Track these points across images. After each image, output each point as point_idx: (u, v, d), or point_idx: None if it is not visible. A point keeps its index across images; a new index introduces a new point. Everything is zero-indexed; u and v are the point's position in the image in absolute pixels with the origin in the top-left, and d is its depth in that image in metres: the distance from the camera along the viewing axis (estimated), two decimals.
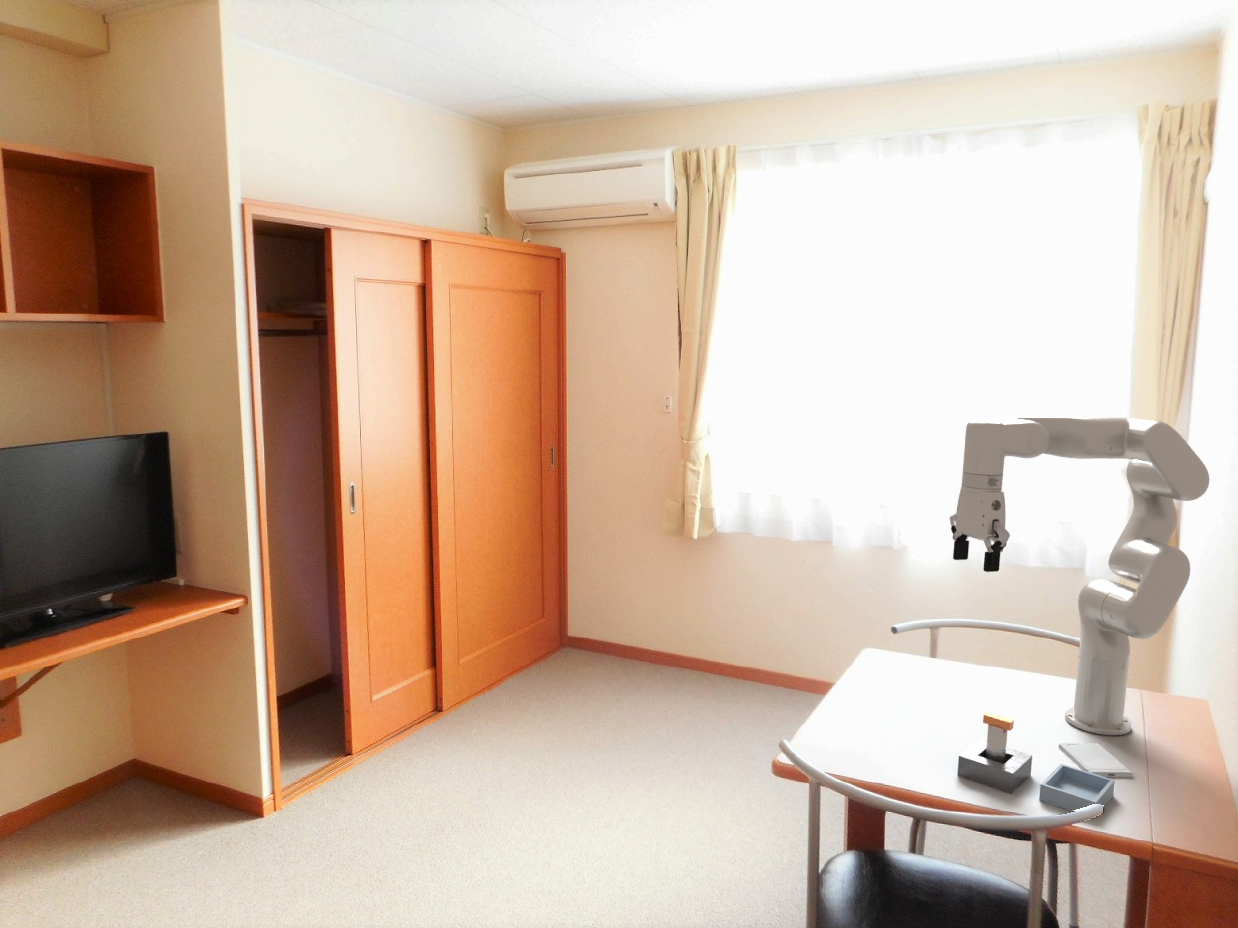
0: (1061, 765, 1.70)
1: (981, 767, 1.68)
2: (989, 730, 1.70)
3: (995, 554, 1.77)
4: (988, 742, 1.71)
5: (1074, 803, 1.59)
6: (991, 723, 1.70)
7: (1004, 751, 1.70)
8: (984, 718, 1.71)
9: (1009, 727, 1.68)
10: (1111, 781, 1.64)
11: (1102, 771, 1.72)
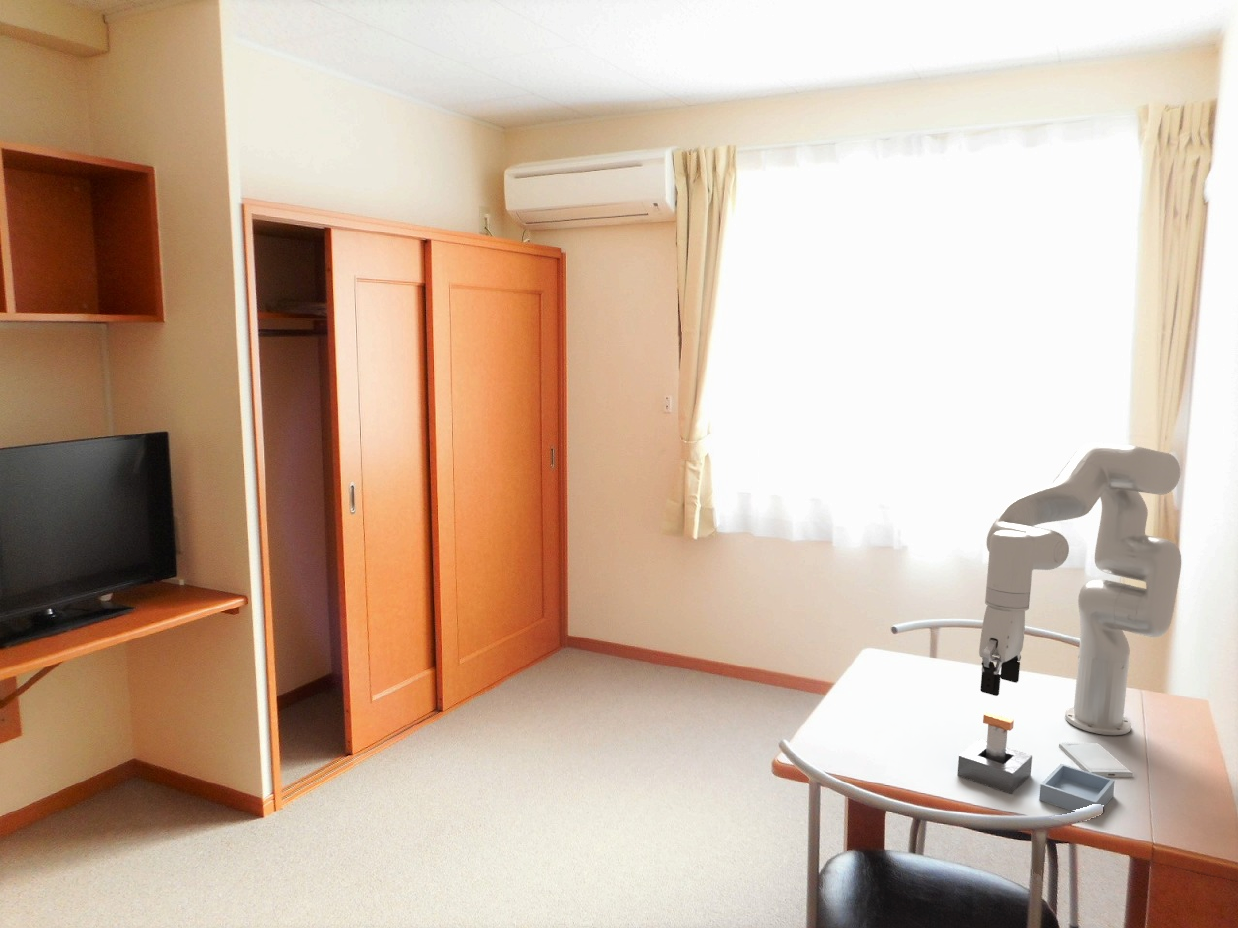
0: (1061, 765, 1.70)
1: (981, 767, 1.68)
2: (989, 730, 1.70)
3: None
4: (988, 742, 1.71)
5: (1074, 803, 1.59)
6: (991, 723, 1.70)
7: (1004, 751, 1.70)
8: (984, 718, 1.71)
9: (1009, 727, 1.68)
10: (1111, 781, 1.64)
11: (1102, 771, 1.72)
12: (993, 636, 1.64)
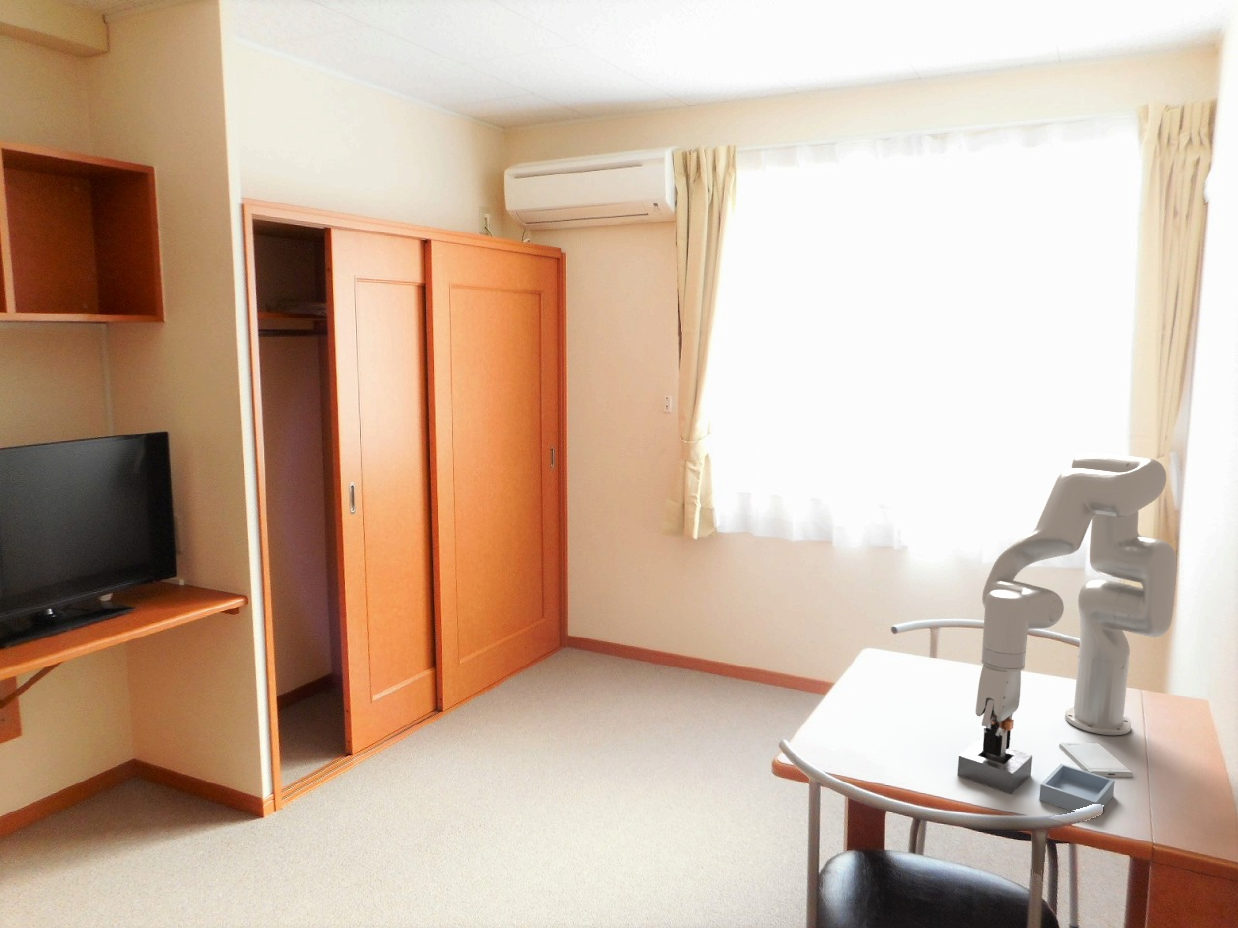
0: (1061, 765, 1.70)
1: (981, 767, 1.68)
2: None
3: None
4: None
5: (1074, 803, 1.59)
6: None
7: (1004, 751, 1.70)
8: None
9: (1009, 727, 1.68)
10: (1111, 781, 1.64)
11: (1102, 770, 1.72)
12: (989, 696, 1.66)
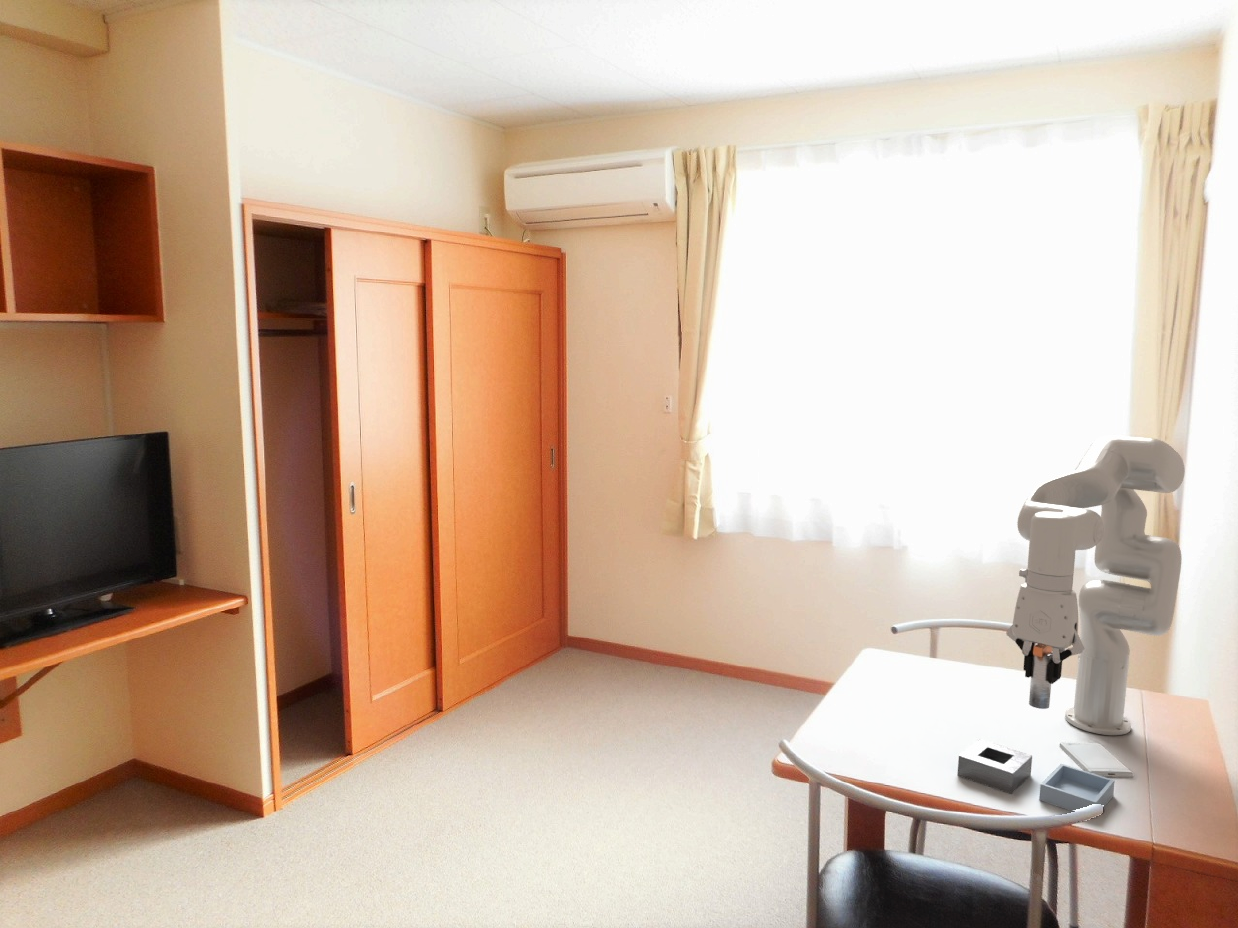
0: (1061, 765, 1.70)
1: (981, 767, 1.68)
2: (1048, 660, 1.63)
3: None
4: (1046, 673, 1.63)
5: (1074, 803, 1.59)
6: (1045, 653, 1.63)
7: None
8: (1042, 651, 1.62)
9: None
10: (1111, 781, 1.64)
11: (1102, 770, 1.72)
12: (1075, 621, 1.60)
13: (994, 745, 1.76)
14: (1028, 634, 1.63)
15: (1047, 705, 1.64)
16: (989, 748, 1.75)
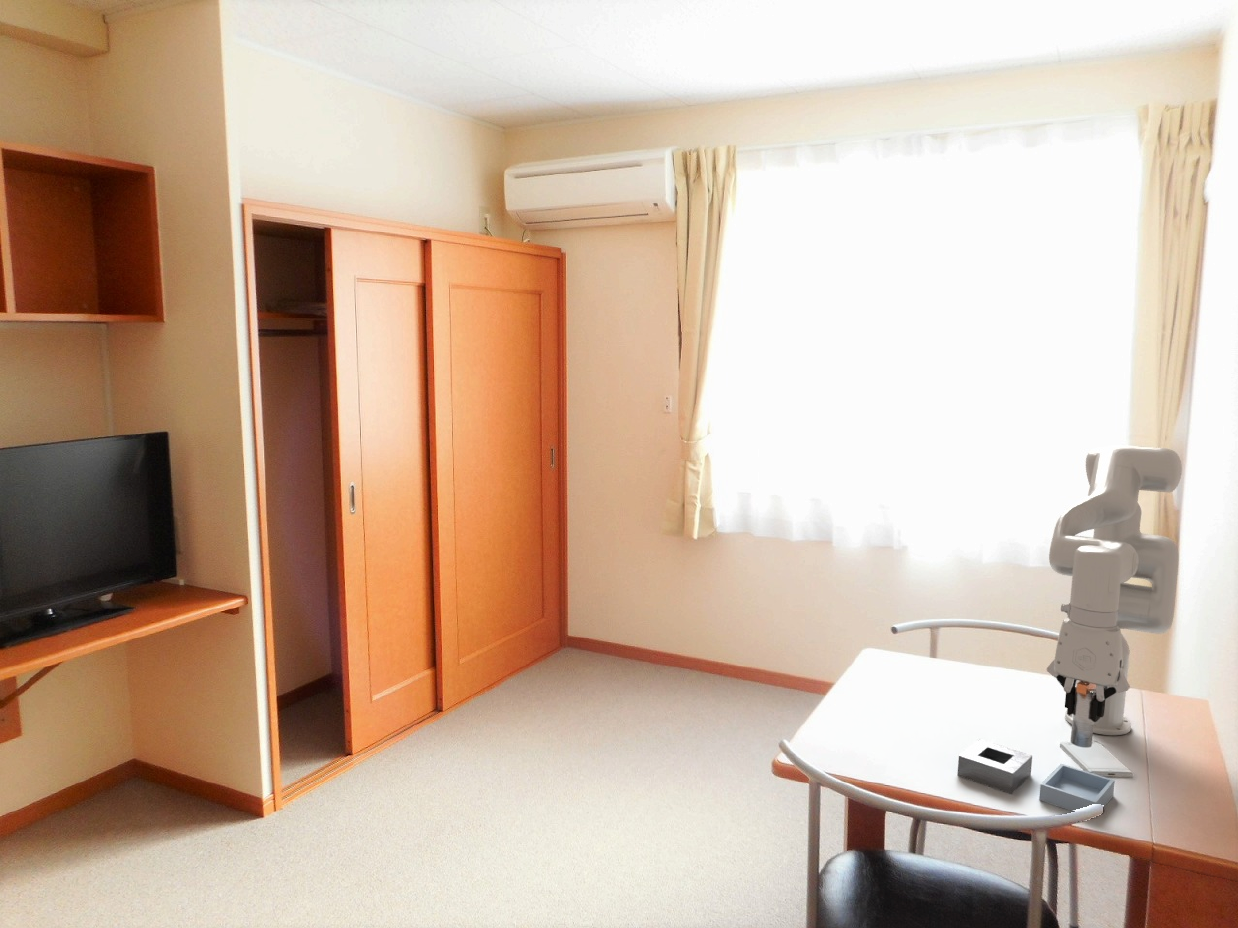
0: (1061, 765, 1.70)
1: (981, 767, 1.68)
2: (1092, 697, 1.59)
3: None
4: (1090, 711, 1.60)
5: (1074, 803, 1.59)
6: (1089, 690, 1.60)
7: None
8: (1086, 689, 1.59)
9: (1095, 684, 1.62)
10: (1111, 781, 1.64)
11: (1102, 770, 1.72)
12: (1120, 658, 1.56)
13: (994, 745, 1.76)
14: (1071, 671, 1.60)
15: (1090, 744, 1.61)
16: (989, 748, 1.75)
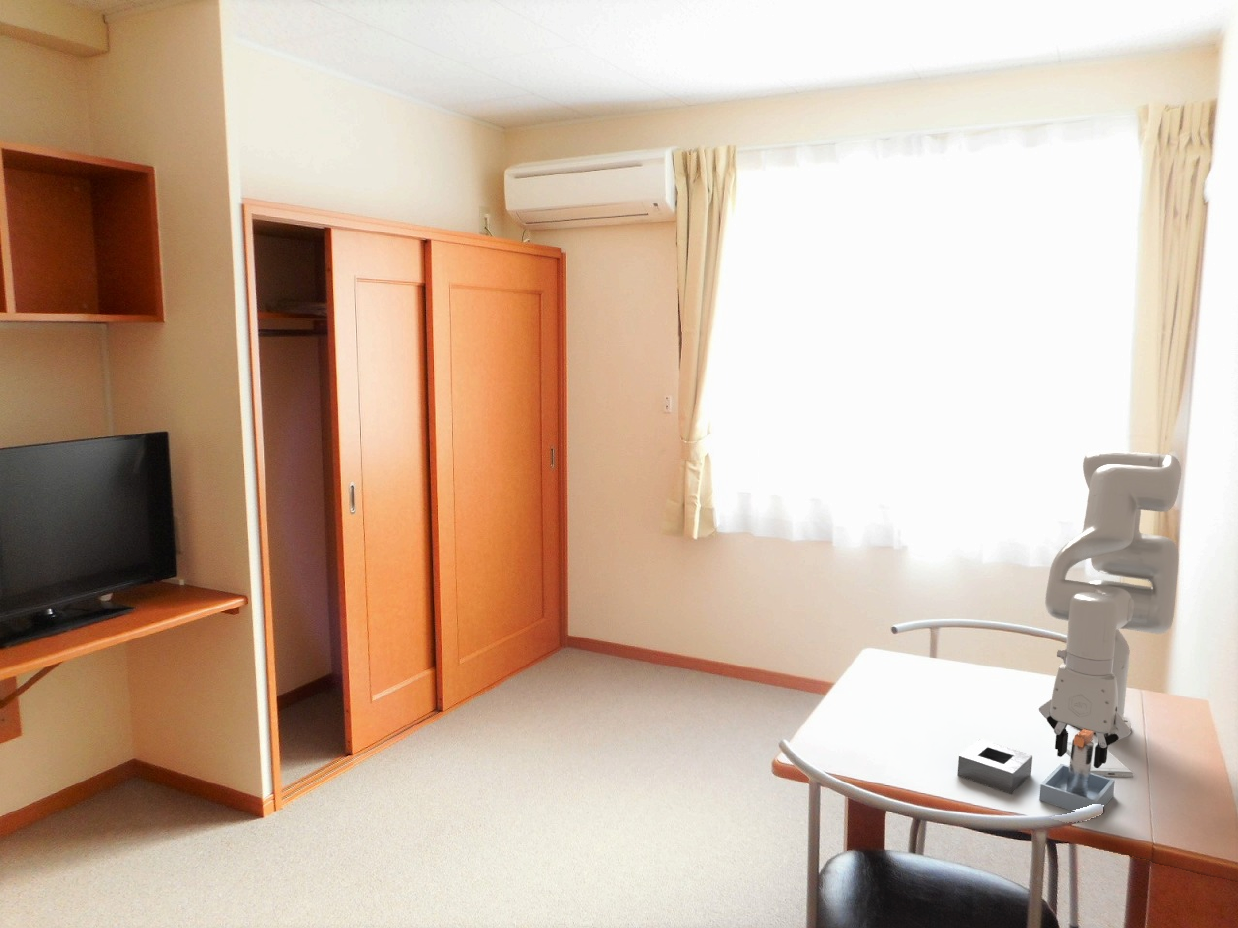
0: (1061, 765, 1.70)
1: (981, 767, 1.68)
2: (1088, 750, 1.61)
3: None
4: (1086, 763, 1.61)
5: (1074, 803, 1.59)
6: (1086, 743, 1.61)
7: None
8: (1084, 742, 1.60)
9: (1092, 736, 1.63)
10: (1111, 781, 1.64)
11: (1102, 770, 1.72)
12: (1116, 705, 1.58)
13: (994, 745, 1.76)
14: (1067, 717, 1.61)
15: (1085, 795, 1.62)
16: (989, 748, 1.75)
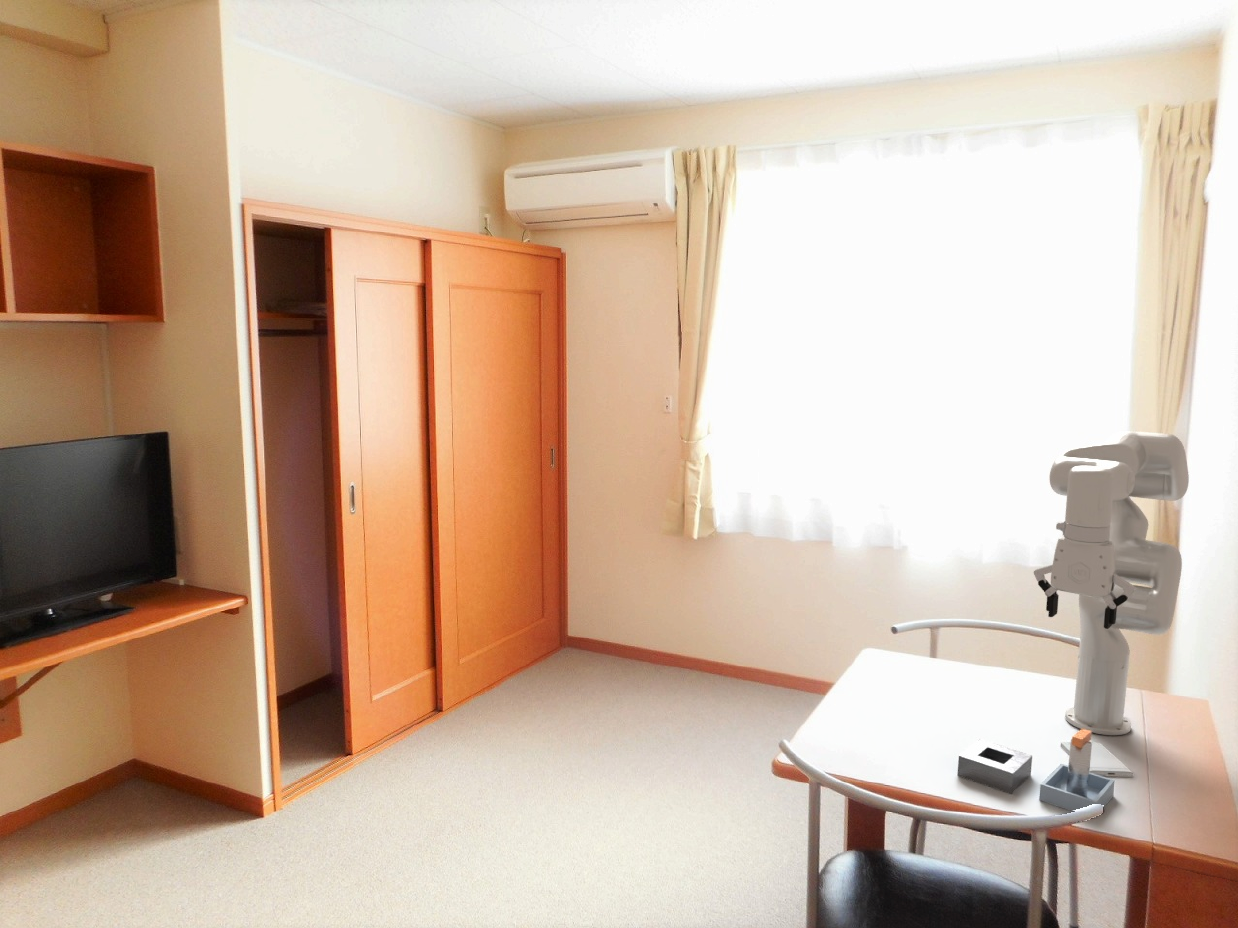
0: (1061, 765, 1.70)
1: (981, 767, 1.68)
2: (1087, 750, 1.61)
3: None
4: (1085, 763, 1.61)
5: (1074, 803, 1.59)
6: (1084, 743, 1.61)
7: None
8: (1082, 742, 1.60)
9: (1090, 736, 1.63)
10: (1111, 781, 1.64)
11: (1102, 770, 1.73)
12: (1113, 571, 1.65)
13: (994, 745, 1.76)
14: (1067, 585, 1.68)
15: (1085, 795, 1.62)
16: (989, 748, 1.75)
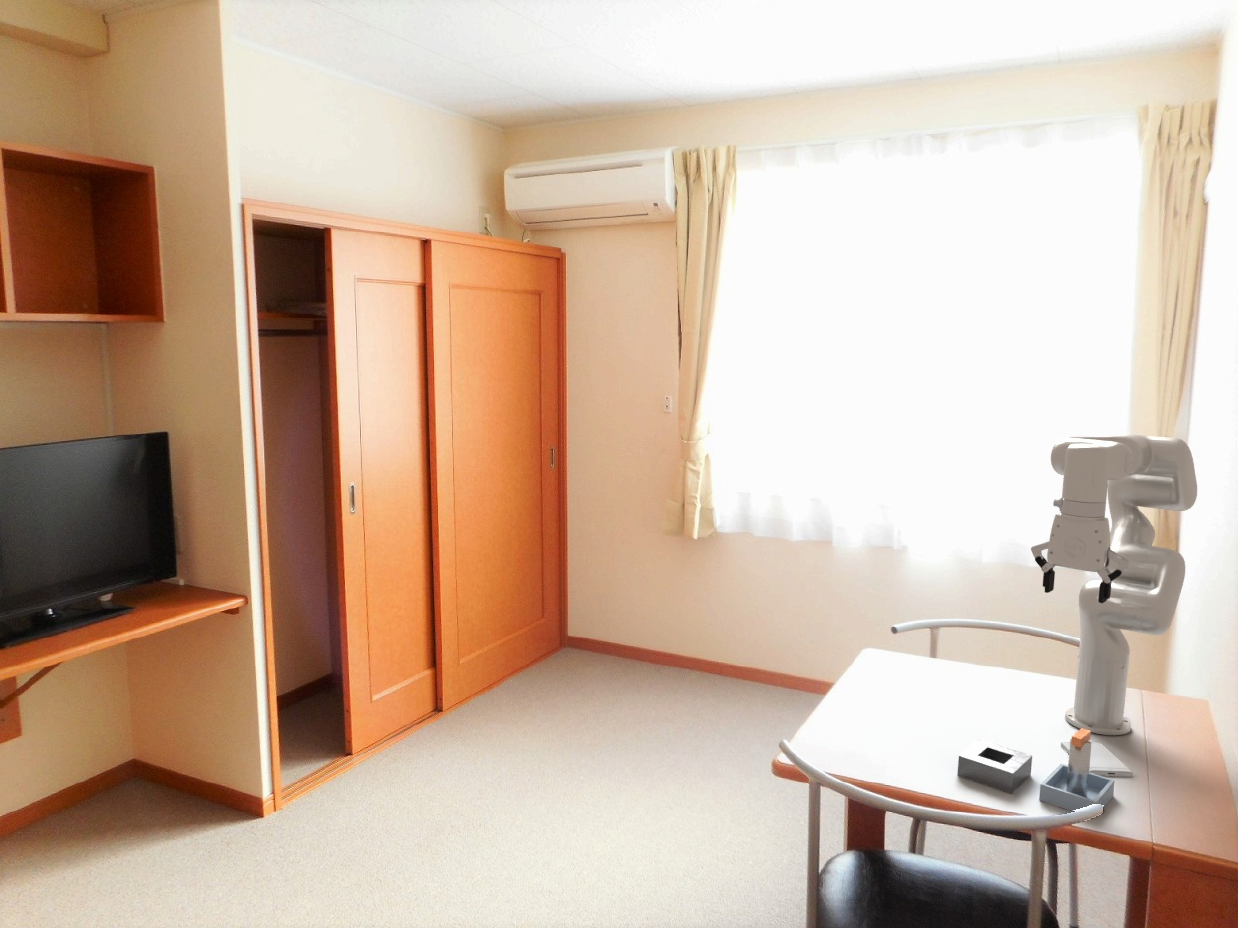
0: (1061, 765, 1.70)
1: (981, 767, 1.68)
2: (1086, 750, 1.61)
3: None
4: (1085, 763, 1.61)
5: (1074, 803, 1.59)
6: (1083, 743, 1.61)
7: None
8: (1081, 742, 1.60)
9: (1090, 736, 1.64)
10: (1111, 781, 1.64)
11: (1102, 770, 1.73)
12: (1108, 546, 1.69)
13: (994, 745, 1.76)
14: (1063, 560, 1.72)
15: (1085, 795, 1.62)
16: (989, 748, 1.75)
